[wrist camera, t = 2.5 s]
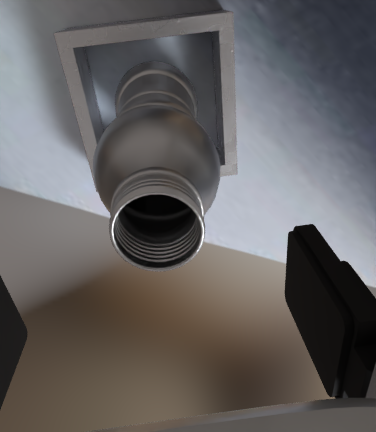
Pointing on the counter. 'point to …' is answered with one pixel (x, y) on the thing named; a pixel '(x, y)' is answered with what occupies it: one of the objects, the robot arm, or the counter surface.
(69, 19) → the counter surface
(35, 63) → the counter surface
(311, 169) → the counter surface
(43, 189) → the counter surface
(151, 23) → the holder
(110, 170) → the plastic bottle
